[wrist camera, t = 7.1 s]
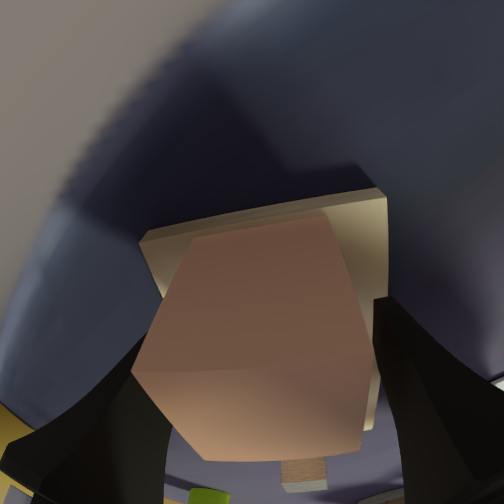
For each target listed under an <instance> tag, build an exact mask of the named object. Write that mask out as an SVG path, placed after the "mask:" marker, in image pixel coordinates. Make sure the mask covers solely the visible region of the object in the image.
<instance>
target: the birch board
mask: <svg viewBox="0 0 504 504" xmlns="http://www.w3.org/2000/svg"><path fill="white" fill-rule="evenodd" d="M326 215H327V216H328V218H329V221H330V224H331V226H332V229H333V231H334V234H335V237H336V239H337V242H338V245H339V247H340V250H341V253H342V256H343V258H344V261H345V264H346V267H347V270H348V273H349V276H350V278H351V281H352V284H353V287H354V290H355V293H356V296H357V299H358V302H359V305H360V309H361V312H362V315H363V318H364V321H365V325H366V328H367V331H368V334H369V338H370V341H371V345H372V348H373V344H372V334H373V299H376V298H382V297H387V296H388V214H387V197H386V196H385V195H384V194H383V193H382V192H381V191H380V190H379V189H378V188H370V189H363V190H357V191H350V192H344V193H338V194H332V195H326V196H320V197H314V198H308V199H302V200H296V201H291V202H285V203H280V204H274V205H269V206H263V207H258V208H253V209H248V210H243V211H237V212H232V213H227V214H222V215H218V216H213V217H208V218H203V219H198V220H194V221H189V222H184V223H180V224H175V225H171V226H166V227H162V228H157V229H153V230H148V232H147V233H146V234H145V235H144V237H143V238H142V239H141V240H140V242H139V245H140V248H141V250H142V253H143V255H144V257H145V259H146V262H147V264H148V266H149V269H150V271H151V273H152V275H153V278H154V280H155V282H156V284H157V286H158V288H159V291H160V293H161V295H162V297H163V298H164V296H165V294H166V292H167V290H168V288H169V286H170V284H171V282H172V280H173V278H174V276H175V273H176V271H177V269H178V267H179V265H180V263H181V261H182V259H183V257H184V255H185V253H186V251H187V249H188V247H189V245H190V243H191V241H192V239H193V238H196V237H202V236H207V235H213V234H218V233H224V232H230V231H235V230H241V229H247V228H253V227H259V226H265V225H271V224H277V223H283V222H289V221H295V220H301V219H307V218H313V217H320V216H326ZM380 379H381V377H380V374H379V370H378V367H377V362H376V358H375V353H374V348H373V362H372V372H371V381H370V389H369V397H368V404H367V411H366V418H365V424H364V430H363V431H365V430H370V429H372V428H373V423H374V417H375V412H376V406H377V399H378V393H379V386H380Z"/></svg>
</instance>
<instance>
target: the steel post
mask: <svg viewBox="0 0 504 504" xmlns="http://www.w3.org/2000/svg"><path fill="white" fill-rule="evenodd" d="M281 484H282V486H283V487H284V489H285V491H286V492H287V493H294V492H307V491H317V490H326V489H327V470H326V456H323V457H315V458H305V459H293V460H281Z"/></svg>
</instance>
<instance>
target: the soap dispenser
mask: <svg viewBox="0 0 504 504" xmlns="http://www.w3.org/2000/svg"><path fill="white" fill-rule="evenodd" d="M229 501H230V495H229V494H228V493H226V492H223V491H219V490H214V489H207V488H192V489H191V491H190V496H189V501H188V504H229Z"/></svg>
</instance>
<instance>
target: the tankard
mask: <svg viewBox="0 0 504 504" xmlns="http://www.w3.org/2000/svg"><path fill="white" fill-rule="evenodd" d="M358 504H405V498H404V487H403V488H399V489H394V490H390V491H386V492H382V493H380V494H377V495H374V496H371V497H368V498H365V499H362V500H360V501H359V502H358Z"/></svg>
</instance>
